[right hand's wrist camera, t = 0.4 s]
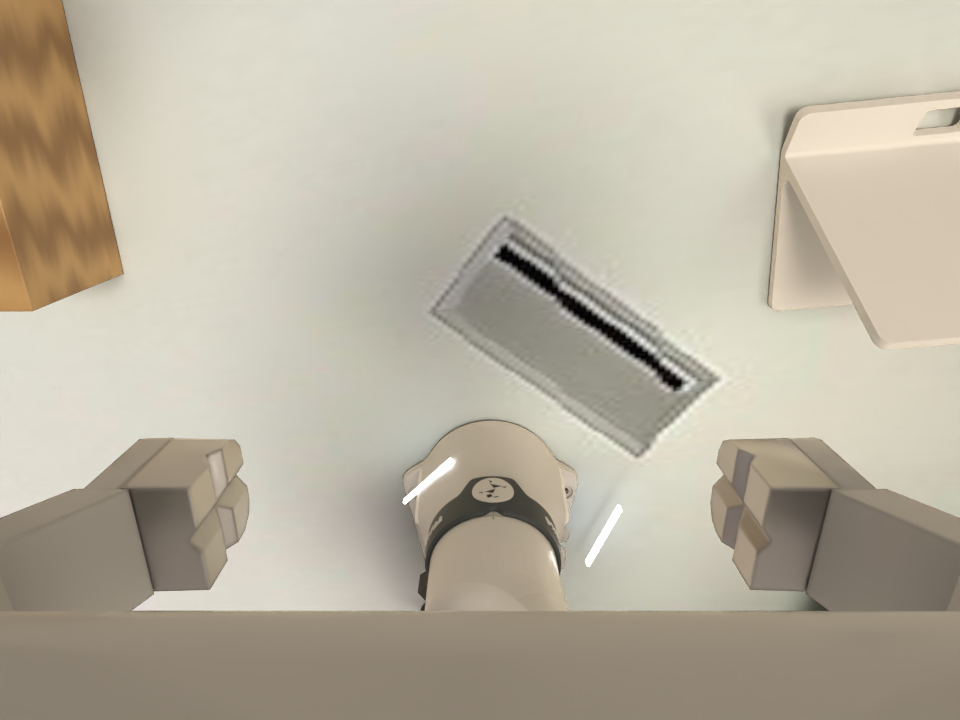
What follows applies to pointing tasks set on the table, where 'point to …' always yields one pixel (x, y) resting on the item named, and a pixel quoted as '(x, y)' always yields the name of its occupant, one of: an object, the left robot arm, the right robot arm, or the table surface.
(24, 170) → the box
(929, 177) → the tablet stand
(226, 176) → the table surface
